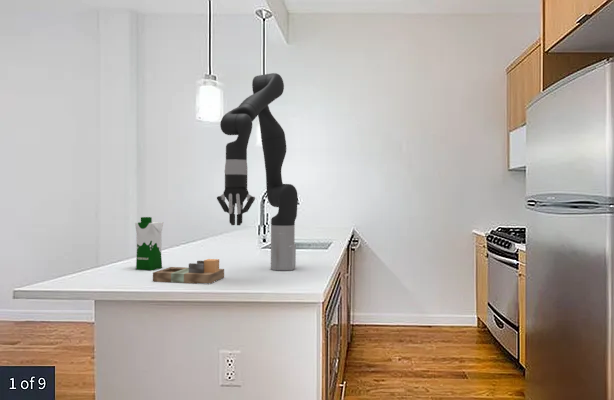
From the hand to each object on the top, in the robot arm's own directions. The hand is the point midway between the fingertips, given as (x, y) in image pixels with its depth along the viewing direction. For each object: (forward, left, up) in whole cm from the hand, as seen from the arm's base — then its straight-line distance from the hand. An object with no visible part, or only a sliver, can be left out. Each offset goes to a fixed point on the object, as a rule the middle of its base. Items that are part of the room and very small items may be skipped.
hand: (235, 225), depth 188 cm
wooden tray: (+17, 0, -19) cm, 25 cm away
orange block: (+9, 0, -16) cm, 18 cm away
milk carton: (+42, -20, -19) cm, 50 cm away
